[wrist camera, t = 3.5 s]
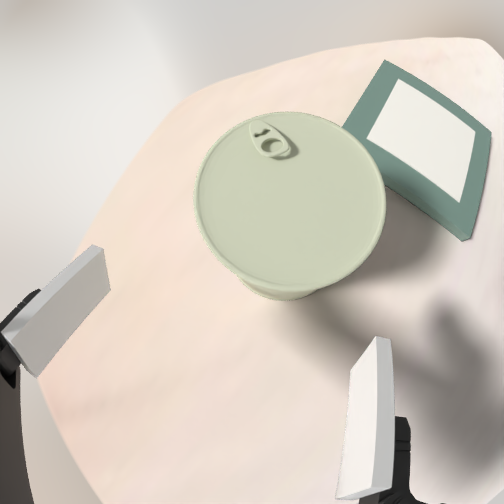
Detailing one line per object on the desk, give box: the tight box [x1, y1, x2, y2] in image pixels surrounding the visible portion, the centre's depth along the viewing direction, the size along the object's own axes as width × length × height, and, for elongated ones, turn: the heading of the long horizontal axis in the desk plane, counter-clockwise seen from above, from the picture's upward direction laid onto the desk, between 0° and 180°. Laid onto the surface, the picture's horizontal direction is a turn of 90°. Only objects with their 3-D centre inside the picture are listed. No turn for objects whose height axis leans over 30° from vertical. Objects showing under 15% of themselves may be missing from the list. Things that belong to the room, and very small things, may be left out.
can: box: [193, 112, 386, 301], centre depth 18 cm, size 9×9×12 cm
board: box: [342, 60, 491, 241], centre depth 24 cm, size 16×16×2 cm
